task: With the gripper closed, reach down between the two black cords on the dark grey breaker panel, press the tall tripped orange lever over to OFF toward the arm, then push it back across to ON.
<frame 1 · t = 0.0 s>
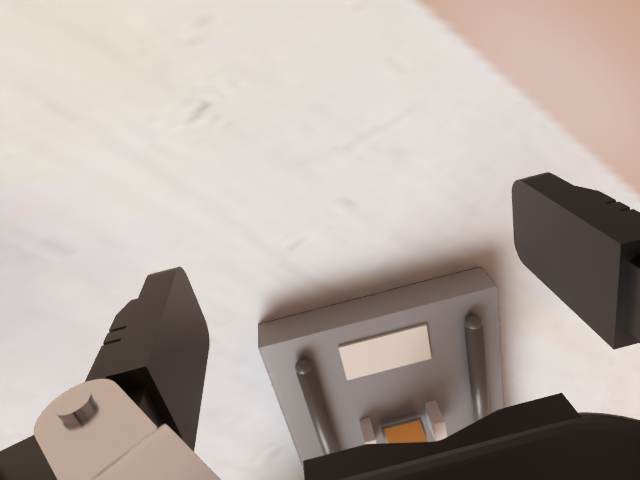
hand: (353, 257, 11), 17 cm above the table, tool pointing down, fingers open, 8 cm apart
breaker panel: (390, 396, 38), on the table
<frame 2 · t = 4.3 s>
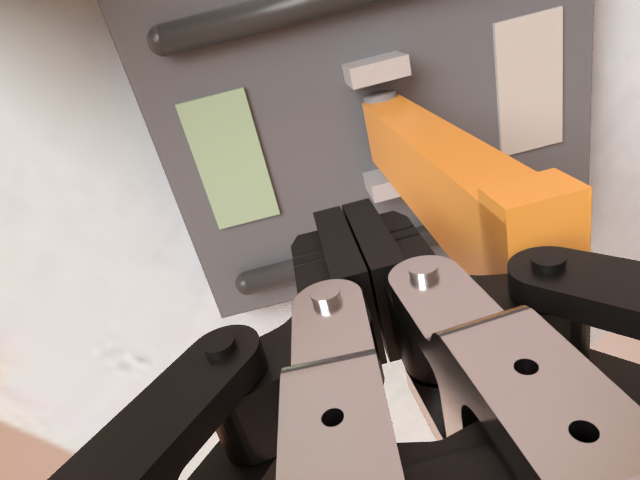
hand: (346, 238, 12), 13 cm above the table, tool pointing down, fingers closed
breaker panel: (368, 113, 24), on the table
breaker lever: (431, 169, 15), point 10 cm above the table, hinge at -0.5°, touching gripper
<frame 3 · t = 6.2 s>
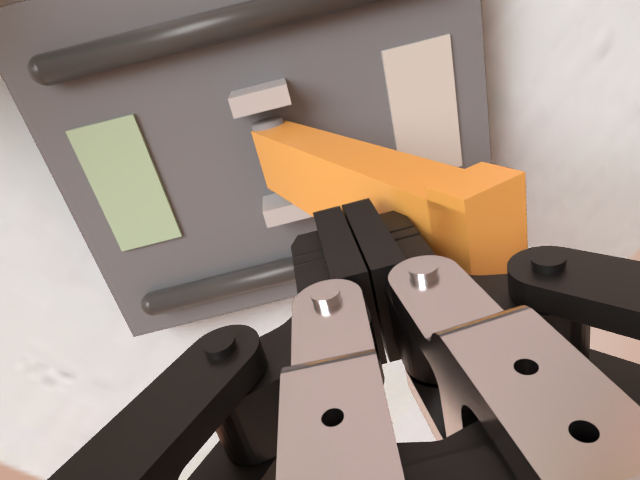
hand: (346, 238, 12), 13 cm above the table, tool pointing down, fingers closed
breaker panel: (274, 135, 24), on the table
breaker lever: (343, 184, 16), point 9 cm above the table, hinge at -21.0°, touching gripper
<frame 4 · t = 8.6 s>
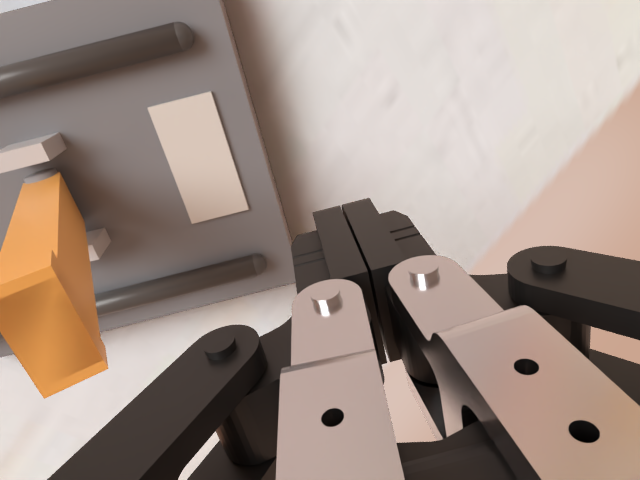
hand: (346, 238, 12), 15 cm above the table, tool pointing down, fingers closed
breaker panel: (80, 179, 26), on the table
breaker lever: (52, 244, 17), point 9 cm above the table, hinge at -21.4°
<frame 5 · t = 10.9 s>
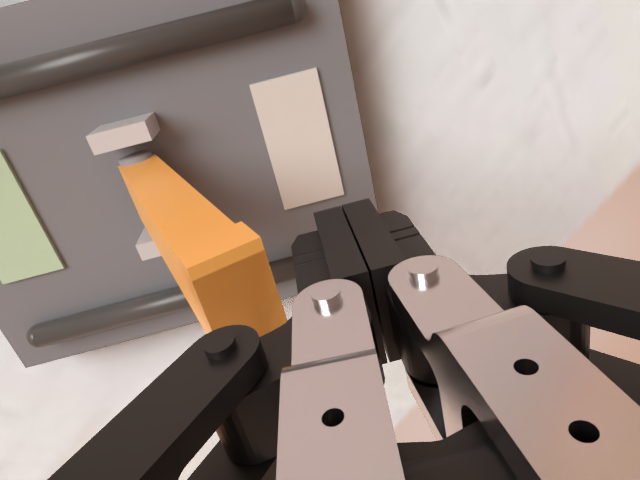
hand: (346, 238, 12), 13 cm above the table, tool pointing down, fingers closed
breaker panel: (161, 165, 24), on the table
breaker lever: (178, 226, 16), point 9 cm above the table, hinge at -20.9°, touching gripper
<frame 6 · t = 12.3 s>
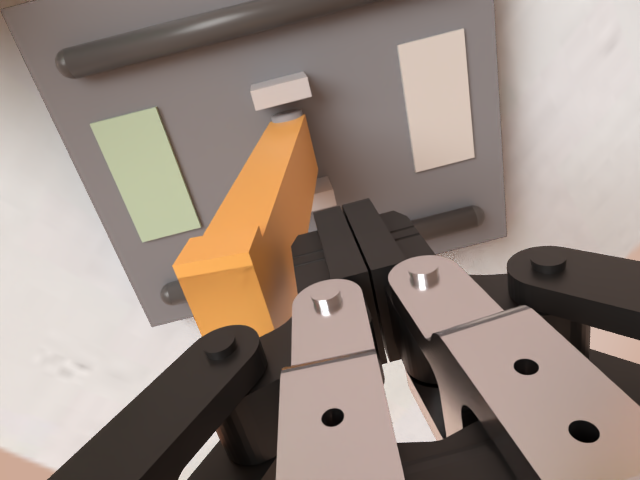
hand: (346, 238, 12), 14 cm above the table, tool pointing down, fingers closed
breaker panel: (290, 129, 25), on the table
breaker lever: (276, 198, 16), point 10 cm above the table, hinge at 9.6°, touching gripper
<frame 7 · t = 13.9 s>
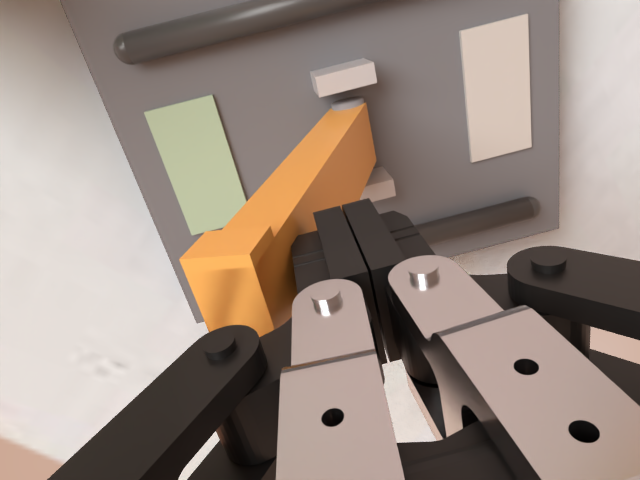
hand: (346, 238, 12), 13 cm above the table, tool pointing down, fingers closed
breaker panel: (340, 119, 24), on the table
breaker lever: (318, 191, 16), point 9 cm above the table, hinge at 22.0°, touching gripper
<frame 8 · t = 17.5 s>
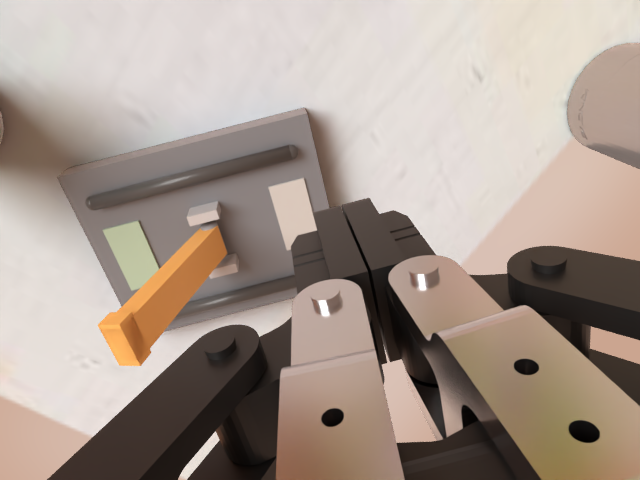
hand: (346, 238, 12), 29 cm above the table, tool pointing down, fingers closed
breaker panel: (217, 223, 43), on the table
breaker lever: (176, 281, 35), point 9 cm above the table, hinge at 22.1°
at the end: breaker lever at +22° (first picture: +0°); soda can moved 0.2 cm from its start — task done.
